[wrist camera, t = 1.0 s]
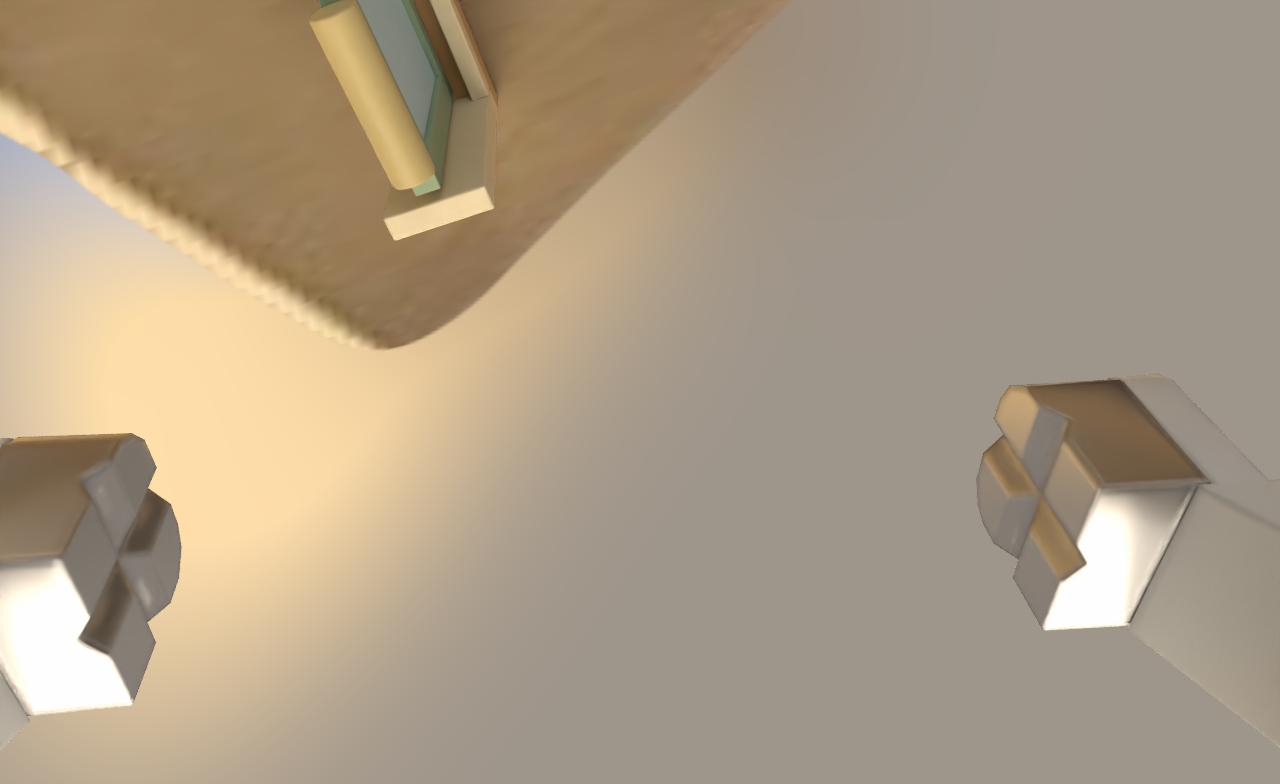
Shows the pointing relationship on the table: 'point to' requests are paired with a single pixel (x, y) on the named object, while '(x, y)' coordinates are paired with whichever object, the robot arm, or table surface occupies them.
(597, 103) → the table surface
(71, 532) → the robot arm
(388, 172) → the cylinder
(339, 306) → the table surface
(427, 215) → the window frame
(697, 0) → the table surface
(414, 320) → the table surface
